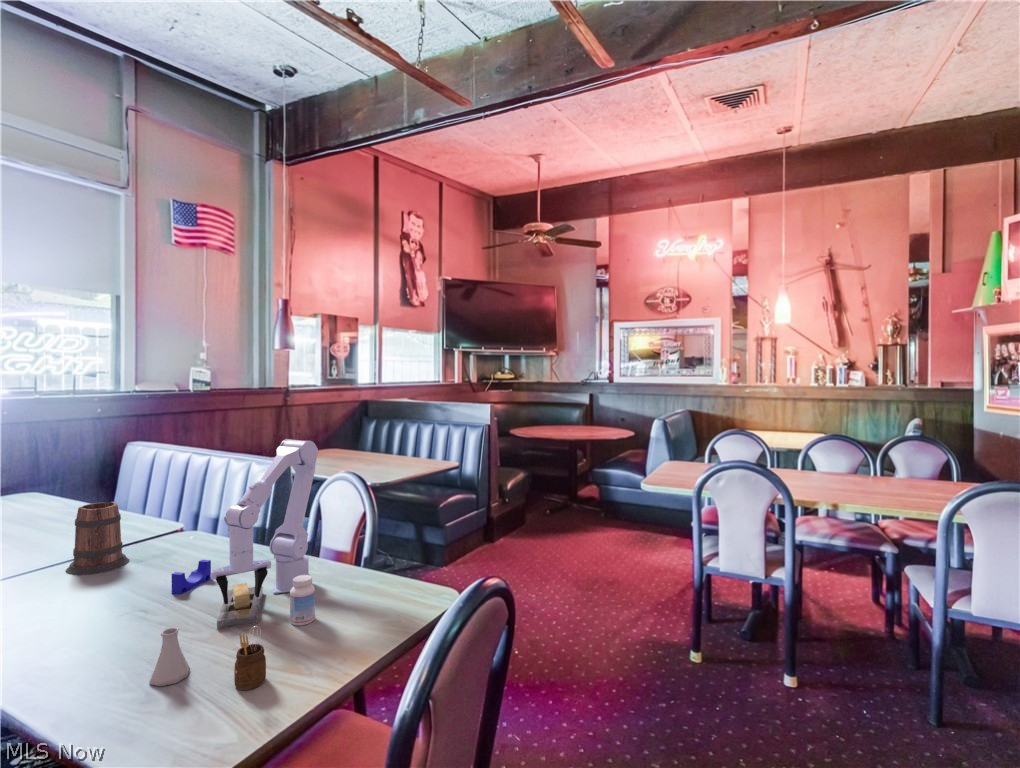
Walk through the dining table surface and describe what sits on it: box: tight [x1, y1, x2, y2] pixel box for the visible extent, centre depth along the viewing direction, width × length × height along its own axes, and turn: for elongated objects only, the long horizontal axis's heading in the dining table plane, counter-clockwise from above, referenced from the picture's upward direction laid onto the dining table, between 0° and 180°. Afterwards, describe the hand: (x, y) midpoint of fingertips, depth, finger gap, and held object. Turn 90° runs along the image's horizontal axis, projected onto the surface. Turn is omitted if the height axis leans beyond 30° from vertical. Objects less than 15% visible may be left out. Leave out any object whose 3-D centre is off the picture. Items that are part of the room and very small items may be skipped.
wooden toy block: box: [232, 582, 250, 611], centre depth 145 cm, size 4×8×6 cm, turn 31°
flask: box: [148, 626, 191, 687], centre depth 113 cm, size 7×7×10 cm
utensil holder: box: [233, 625, 267, 691], centre depth 111 cm, size 6×6×12 cm
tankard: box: [65, 501, 131, 576], centre depth 178 cm, size 24×17×20 cm
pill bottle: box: [289, 575, 316, 626], centre depth 139 cm, size 6×6×11 cm
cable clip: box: [171, 559, 212, 595], centre depth 161 cm, size 12×4×6 cm, turn 170°
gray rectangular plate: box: [216, 585, 264, 630], centre depth 145 cm, size 9×20×2 cm, turn 21°
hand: (241, 599), depth 145 cm, fingers open, 7 cm apart
